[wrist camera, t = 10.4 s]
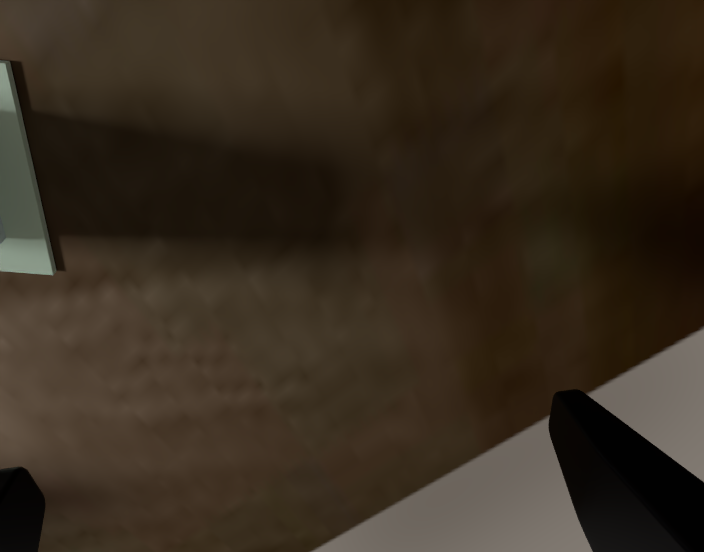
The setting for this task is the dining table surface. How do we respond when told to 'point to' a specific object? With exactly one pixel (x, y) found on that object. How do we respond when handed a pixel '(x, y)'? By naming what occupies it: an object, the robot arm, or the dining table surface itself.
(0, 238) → the tea tin
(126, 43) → the dining table surface
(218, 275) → the dining table surface
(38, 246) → the pad
